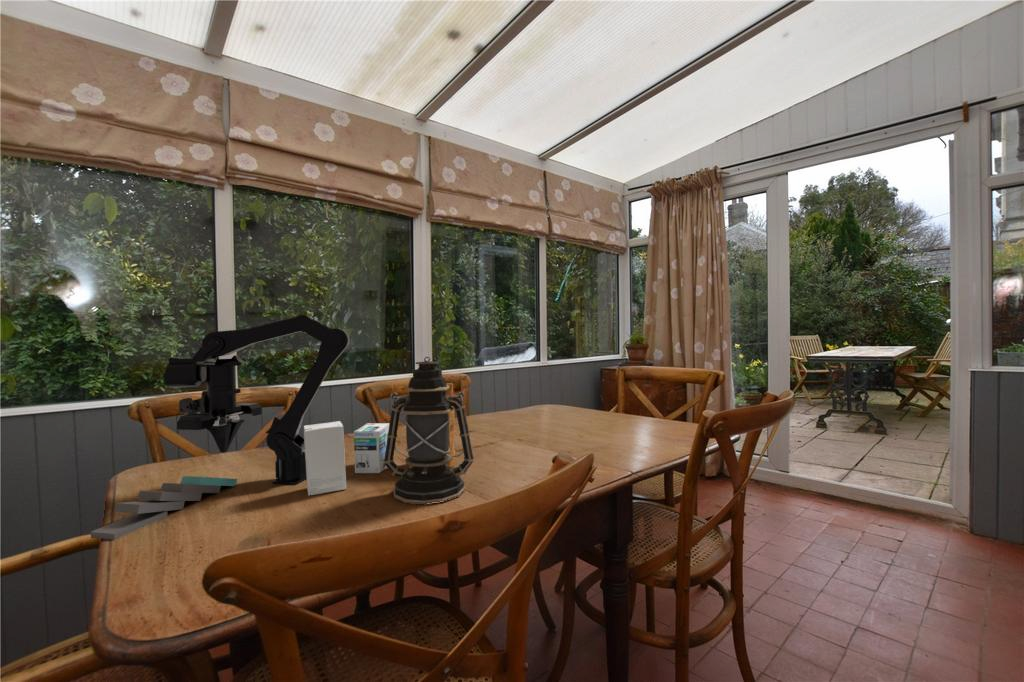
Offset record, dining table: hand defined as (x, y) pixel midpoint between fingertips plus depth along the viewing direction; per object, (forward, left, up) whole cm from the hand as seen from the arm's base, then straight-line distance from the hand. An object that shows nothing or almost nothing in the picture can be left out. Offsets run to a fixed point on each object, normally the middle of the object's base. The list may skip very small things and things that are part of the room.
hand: (223, 452), depth 105 cm
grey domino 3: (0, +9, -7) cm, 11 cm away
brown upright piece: (-43, -21, -8) cm, 49 cm away
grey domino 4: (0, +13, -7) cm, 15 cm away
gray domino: (0, +17, -8) cm, 18 cm away
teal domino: (0, -1, -7) cm, 7 cm away
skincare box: (-25, -1, -8) cm, 26 cm away
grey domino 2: (0, +4, -7) cm, 8 cm away
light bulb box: (-28, -18, -8) cm, 35 cm away
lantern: (-49, -3, -8) cm, 50 cm away
